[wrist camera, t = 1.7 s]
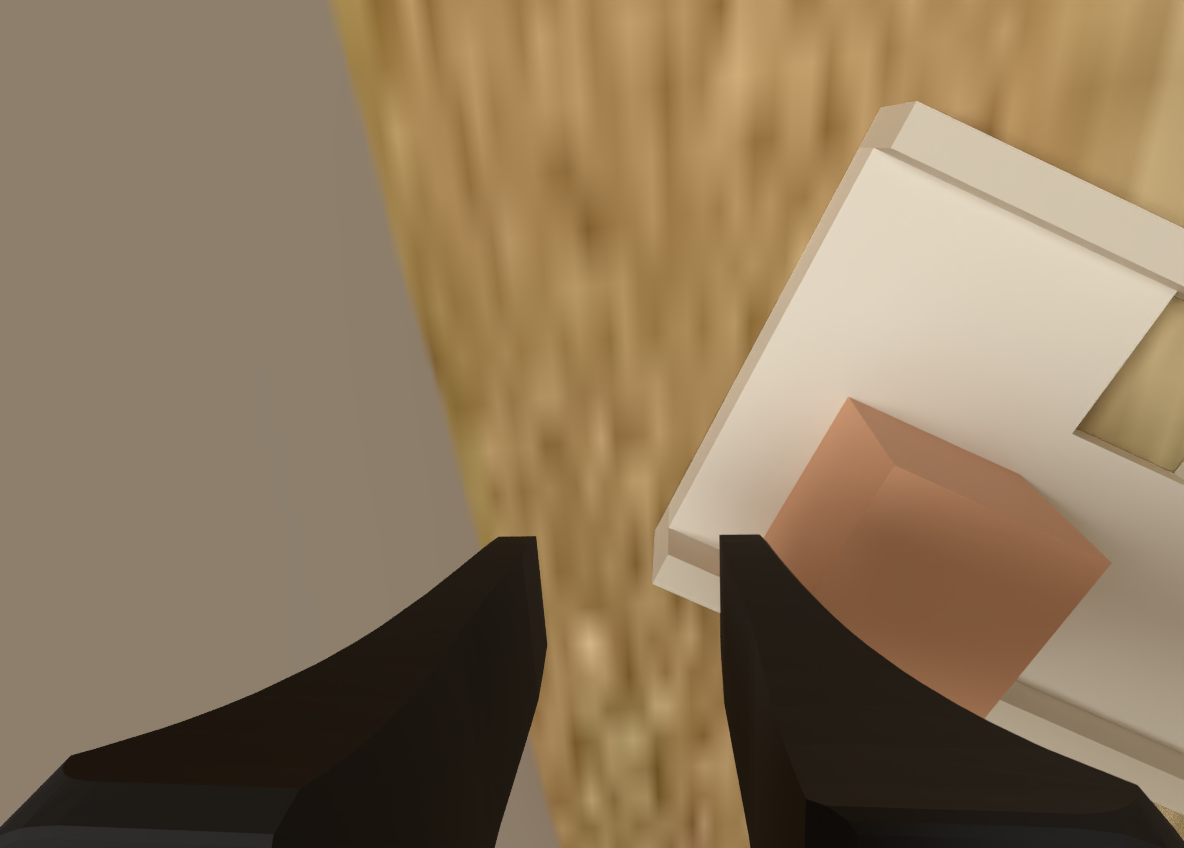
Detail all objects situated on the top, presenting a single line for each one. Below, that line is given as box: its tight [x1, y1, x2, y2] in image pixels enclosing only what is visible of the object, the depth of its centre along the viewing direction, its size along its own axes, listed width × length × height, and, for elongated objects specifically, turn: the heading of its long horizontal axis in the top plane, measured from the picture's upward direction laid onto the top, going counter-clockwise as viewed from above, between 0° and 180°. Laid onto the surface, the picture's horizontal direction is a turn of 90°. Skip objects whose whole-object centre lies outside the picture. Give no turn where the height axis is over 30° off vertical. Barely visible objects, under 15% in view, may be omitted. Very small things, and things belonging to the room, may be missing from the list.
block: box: [764, 397, 1111, 719], centre depth 18 cm, size 5×5×4 cm
